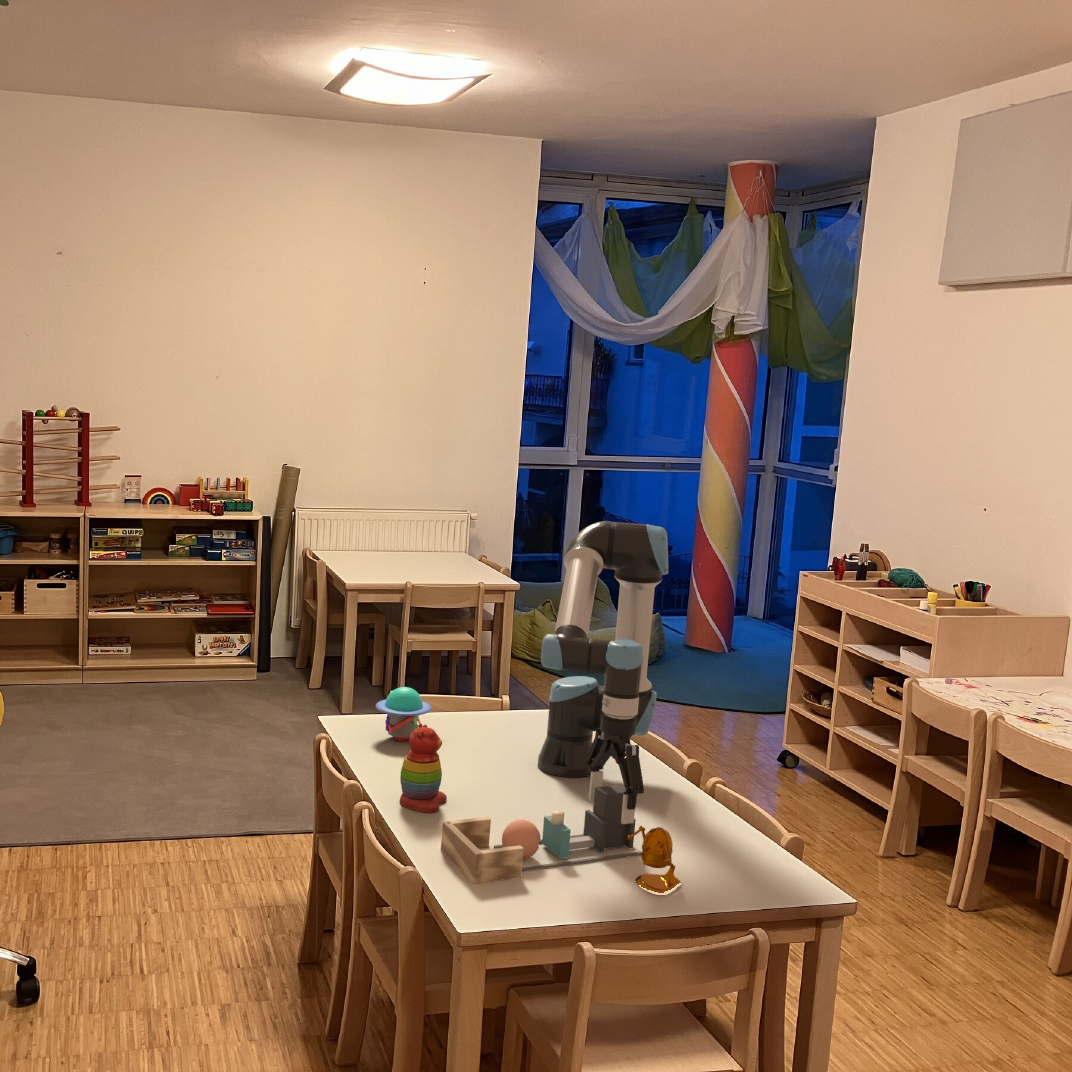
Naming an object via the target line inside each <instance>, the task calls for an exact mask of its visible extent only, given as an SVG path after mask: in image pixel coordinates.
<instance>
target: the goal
mask: <svg viewBox="0 0 1072 1072" xmlns="http://www.w3.org/2000/svg"><path fill="white" fill-rule="evenodd" d="M491 822H492V820H491V818H490V817H489V816H483V817H472V818H464V819H456V820H445V821H442V825H441V839H440V840H441V841H440V842H441V843H440V850H441V851H442V853H444V855H445V856H446V857H447V858H448V859H449V860H450V861H451V862H452V863H453V864H454V865H455V866H456V867H457V868H458V869H459V870H460V871H461V872H462V873H463V875H465V876H466V878H468V880H469V881H470V882H471V883H472V884H474V885H476V883H477V884H483V883H484V882H485V883H490V881H491V882H498V881H505V880H513V879H518V878H519V879H520V878H522V874H523V872H522V867H523V863H524V859H523V851H524V848H523V847H522V846H521V845H519V846H511V847H503V848H496V849H494V848H489V847H490V837H491V836H490V835H491V824H492V823H491ZM481 848H489V849H481ZM512 878H513V879H512Z"/></svg>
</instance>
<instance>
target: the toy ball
mask: <svg viewBox="0 0 1072 1072" xmlns="http://www.w3.org/2000/svg"><path fill="white" fill-rule="evenodd" d="M540 840H541V833H540V831H539V828H538V827H537V826H536V825H535V824H534V823H533V822H531V821H529V820H527V819H516V820H514V821H512V822H510V823H508V824H507V826H506V827H505V828H504V829H503V832H502V835H501V843H502V844H501V845H503V847H511V846H519V845H521V846H522V847H523V848H524V851H523V860H527V859H530V858H531V857H533V856H534V855H535V854H536V852H537V851H538V850H539V849H540V847H539V845H540V844H541V843H540ZM539 843H540V844H539Z"/></svg>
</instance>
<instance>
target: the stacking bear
mask: <svg viewBox="0 0 1072 1072" xmlns="http://www.w3.org/2000/svg"><path fill="white" fill-rule="evenodd" d="M408 742H409V748H410V750H409V751H408V752H407V753H406V755H405V756H404V758H403V762H402V766H401V769H400V777H399V778H400V779H399V780H400V785H401V792H402V793H401V795H400V797H399V803H400V805H401V806H402V807H405V808H406V809H409V810H413V811H416V812H421V813H426V814H434V813H437V812H439V809H440V808H439V807H440V806H439V804H442V803H446V802H447V799H448V797H447V794H446V793H444V792H442V791H440V786H441V784H442V777H443V772H442V767H441V766H442V765H441V764H442V763H441V760H440V755H439V753H438V751H439V750H440V748H441V747H442V746H443V741H442V739H441V738H440V736H439V735H438V734H437V731H435V730H434V729H433V728H431V727H428V725H427V724H424V725H423V724H422V727H420V728H417V729H415V730H414V731H413V732H412V733H411V735H410V737H409V738H408Z"/></svg>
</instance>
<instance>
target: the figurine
mask: <svg viewBox="0 0 1072 1072" xmlns="http://www.w3.org/2000/svg"><path fill="white" fill-rule="evenodd" d="M645 831H646V827H643V826H642V825H639V827H638V829H637V830H636V831H635V832H634V833H633V834H632V835H631V836H630V835H628V836H627V838H628V840H629V839H630V840H632V839H633V837H634V838H635V836H637V835H638V834H639V833H640V832H641V836H642V844H641V851H642V854H641V855H640V858H641V861H642V864H643V866H648V867H650V868H653V869H664V868H666V867H669V868H668V870H667V872H666V873H665V874H657V873H654V874H653V873H642V874H639V875H638V876H636V877H635V880H634V882H635V881H636V882H635V884H636V883H637V884H638V885H641V887H643V888H646V889H647V890H651V891H654V892H658V893H664V892H665V891H668V890H671V889H672V888H674V887H675V886H676V885H677V884H679V883H682V882H681V880H680V879H679V878H678V877H676V876H675V874H674V873H675V870H676V865H675V864H674V863H673V862H672V860H673V858H672V854H673V851H674V850H673V844H674V843H673V840H672V835H671V834H670V832H669V831H668V830H666V829H665V828H664V827H663V828H662V827H661V826H657V827H654V828H651V829H649V831H648V832H646V833H645ZM637 884H636V885H637ZM638 885H637V886H638Z"/></svg>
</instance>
